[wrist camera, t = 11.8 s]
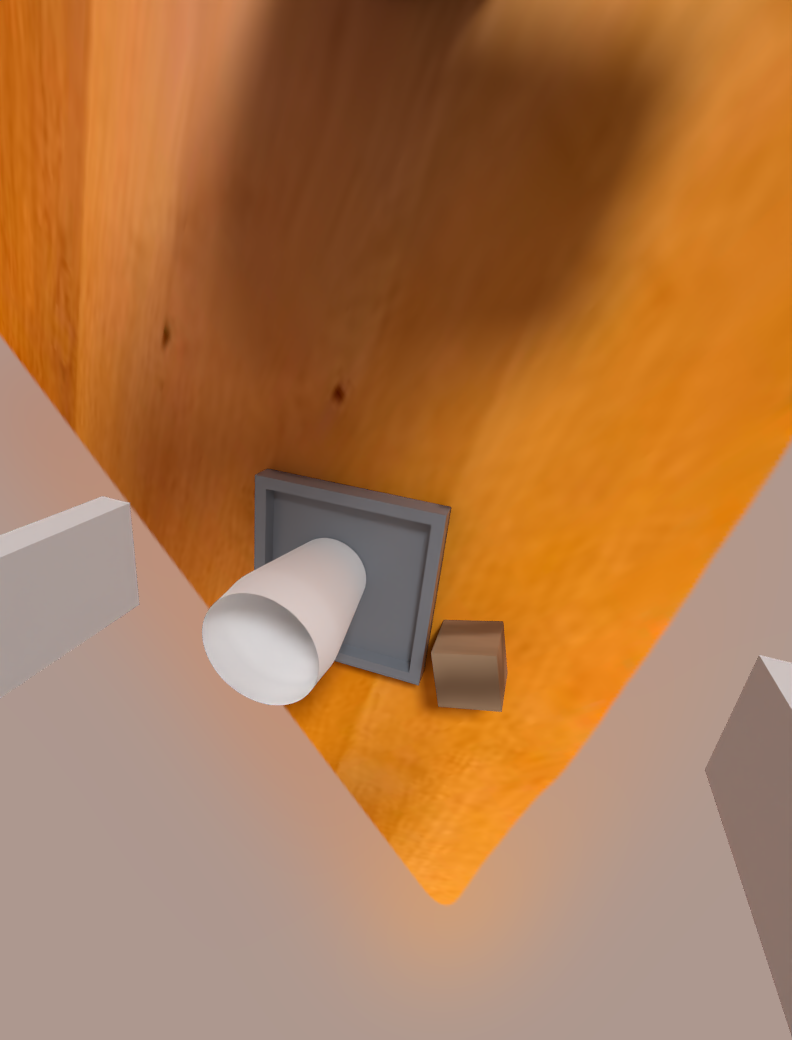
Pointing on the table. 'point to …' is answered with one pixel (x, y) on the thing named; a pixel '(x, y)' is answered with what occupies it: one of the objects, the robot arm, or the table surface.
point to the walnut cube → (470, 665)
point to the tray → (364, 560)
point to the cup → (285, 621)
